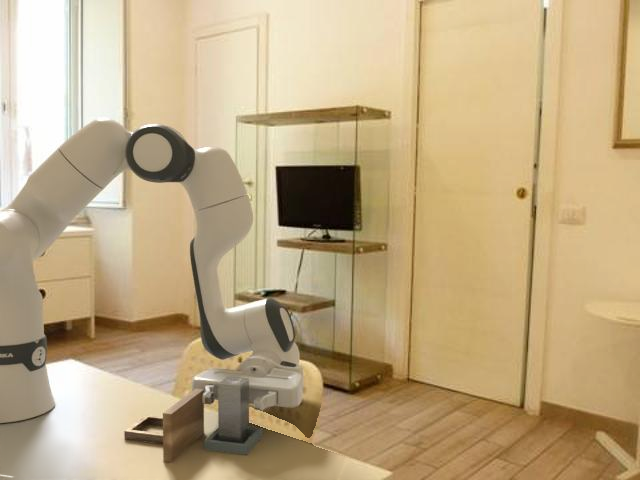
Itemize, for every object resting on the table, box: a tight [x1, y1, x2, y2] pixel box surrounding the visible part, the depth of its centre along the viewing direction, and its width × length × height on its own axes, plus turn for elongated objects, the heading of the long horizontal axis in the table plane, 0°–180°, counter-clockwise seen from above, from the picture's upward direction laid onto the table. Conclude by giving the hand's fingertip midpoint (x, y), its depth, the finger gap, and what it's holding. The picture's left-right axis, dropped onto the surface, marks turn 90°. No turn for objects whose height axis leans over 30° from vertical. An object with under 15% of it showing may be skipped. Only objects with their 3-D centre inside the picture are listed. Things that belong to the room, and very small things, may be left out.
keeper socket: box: [203, 426, 263, 456], centre depth 106 cm, size 8×8×2 cm
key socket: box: [123, 414, 163, 445], centre depth 109 cm, size 8×8×2 cm
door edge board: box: [162, 389, 205, 463], centre depth 104 cm, size 2×12×8 cm, turn 166°
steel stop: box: [217, 376, 250, 444], centre depth 105 cm, size 4×4×11 cm
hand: (231, 402), depth 104 cm, fingers open, 8 cm apart
